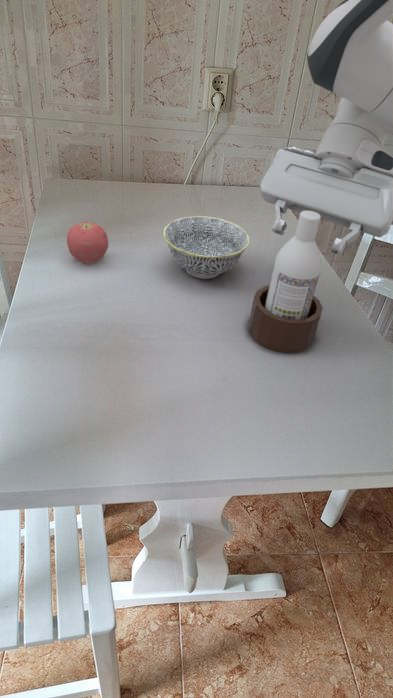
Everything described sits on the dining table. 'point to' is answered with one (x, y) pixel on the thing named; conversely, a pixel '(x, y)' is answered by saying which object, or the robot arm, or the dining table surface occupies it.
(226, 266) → the bowl
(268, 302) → the bath foam
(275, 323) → the cup
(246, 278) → the dining table surface
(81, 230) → the apple
